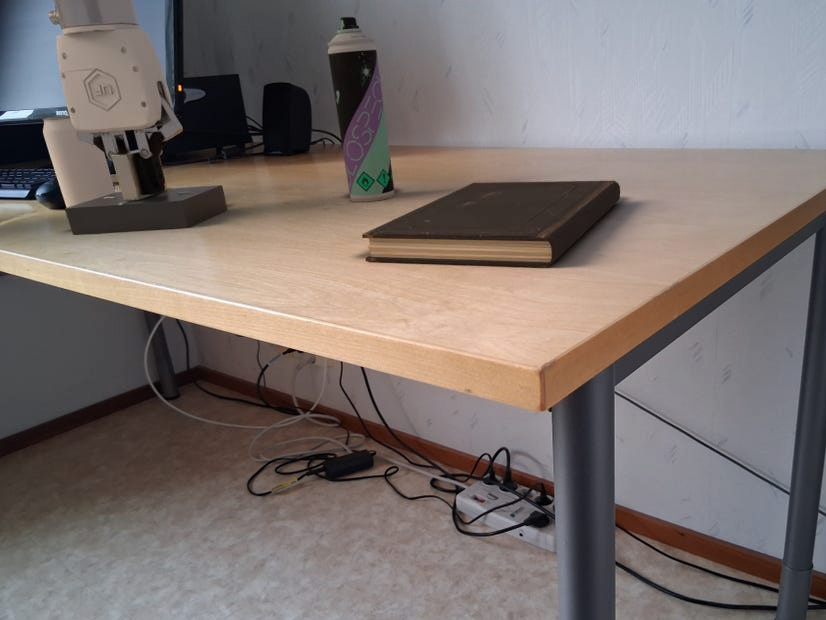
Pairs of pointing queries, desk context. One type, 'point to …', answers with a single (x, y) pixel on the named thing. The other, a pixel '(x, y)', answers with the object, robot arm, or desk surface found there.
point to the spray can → (360, 113)
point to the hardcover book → (495, 224)
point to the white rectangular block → (130, 176)
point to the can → (76, 163)
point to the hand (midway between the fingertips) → (145, 192)
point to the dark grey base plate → (147, 211)
